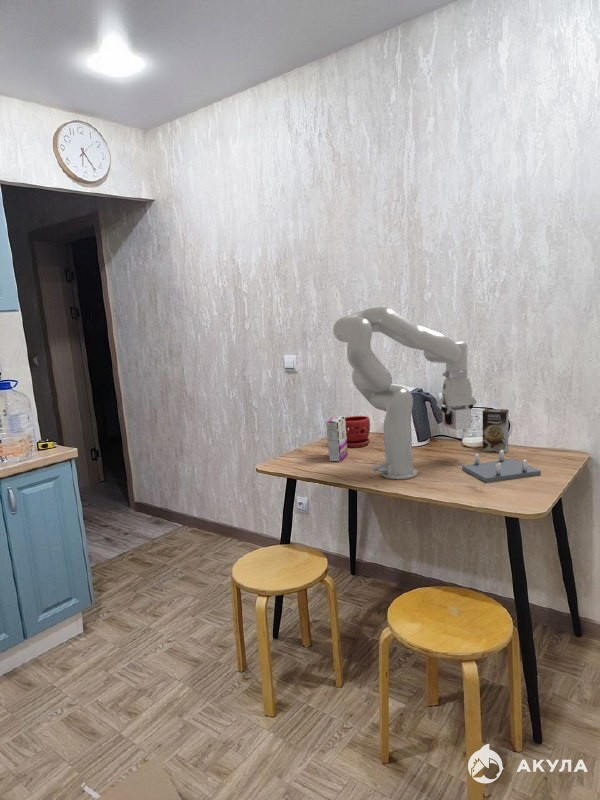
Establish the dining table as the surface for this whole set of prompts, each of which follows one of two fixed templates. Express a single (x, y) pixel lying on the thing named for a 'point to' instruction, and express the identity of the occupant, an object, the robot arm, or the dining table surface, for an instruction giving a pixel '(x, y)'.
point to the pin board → (508, 470)
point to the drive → (459, 418)
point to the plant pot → (357, 431)
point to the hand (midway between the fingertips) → (456, 422)
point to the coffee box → (495, 430)
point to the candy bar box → (337, 438)
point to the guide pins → (498, 465)
